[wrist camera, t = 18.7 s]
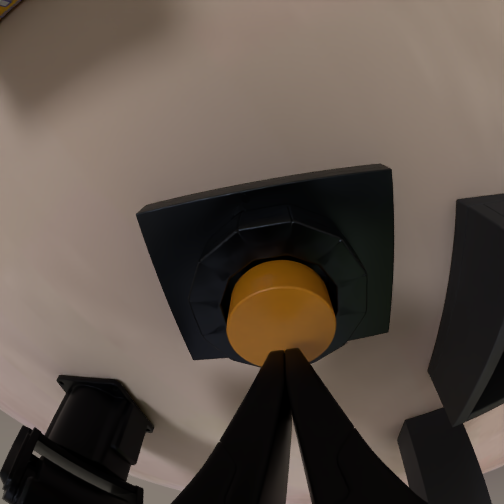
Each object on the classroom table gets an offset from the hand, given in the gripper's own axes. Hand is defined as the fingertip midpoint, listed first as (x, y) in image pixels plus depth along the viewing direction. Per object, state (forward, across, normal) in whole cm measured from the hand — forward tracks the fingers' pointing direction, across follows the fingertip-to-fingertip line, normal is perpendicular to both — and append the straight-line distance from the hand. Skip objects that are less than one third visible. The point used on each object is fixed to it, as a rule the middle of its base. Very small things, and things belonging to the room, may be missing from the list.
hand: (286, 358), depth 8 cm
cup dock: (+6, -15, +4) cm, 16 cm away
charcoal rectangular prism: (+6, -11, +18) cm, 22 cm away
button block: (+6, 0, 0) cm, 6 cm away
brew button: (+3, 0, 0) cm, 3 cm away
